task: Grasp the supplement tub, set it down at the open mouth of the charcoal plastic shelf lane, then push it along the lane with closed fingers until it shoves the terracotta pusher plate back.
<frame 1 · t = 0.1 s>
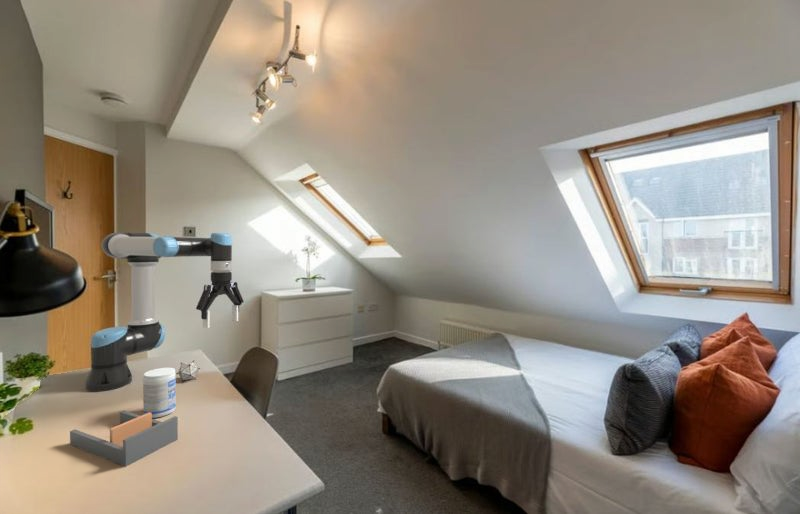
hand: (221, 324, 141), 28 cm above the table, fingers open, 13 cm apart
lane: (123, 441, 106), on the table
game die: (188, 380, 154), on the table
supplement tub: (159, 413, 124), on the table
pusher: (135, 433, 103), point 4 cm above the table, slide at 0.0 cm
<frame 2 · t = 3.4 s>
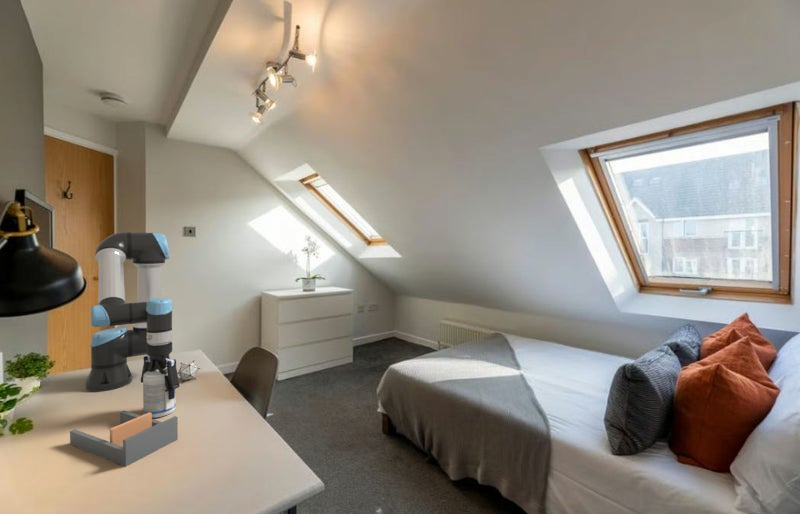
hand: (159, 405, 124), 3 cm above the table, fingers closed on supplement tub, 10 cm apart
supplement tub: (159, 413, 124), on the table, touching gripper
everything else where it was.
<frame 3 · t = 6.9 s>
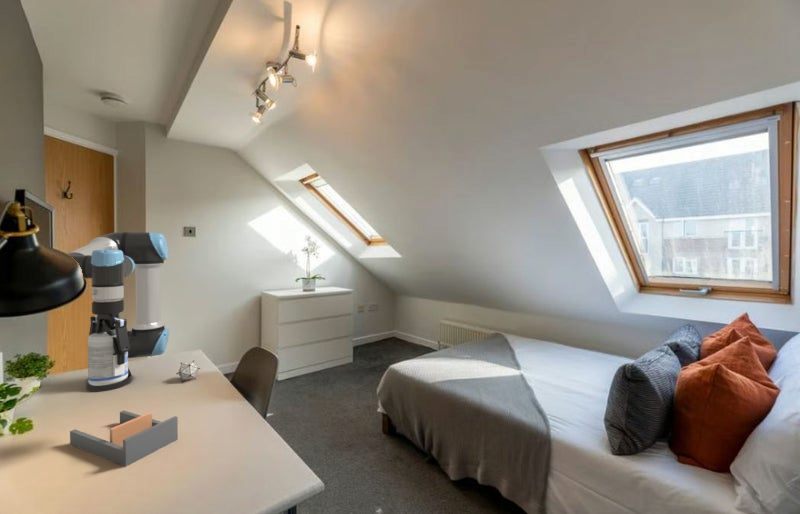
hand: (108, 372, 108), 20 cm above the table, fingers closed on supplement tub, 9 cm apart
supplement tub: (108, 381, 108), point 17 cm above the table, touching gripper
everything else where it was.
when the fingers open (4 cm above the table, at t = 10.2 s): supplement tub drops 1 cm, on the table.
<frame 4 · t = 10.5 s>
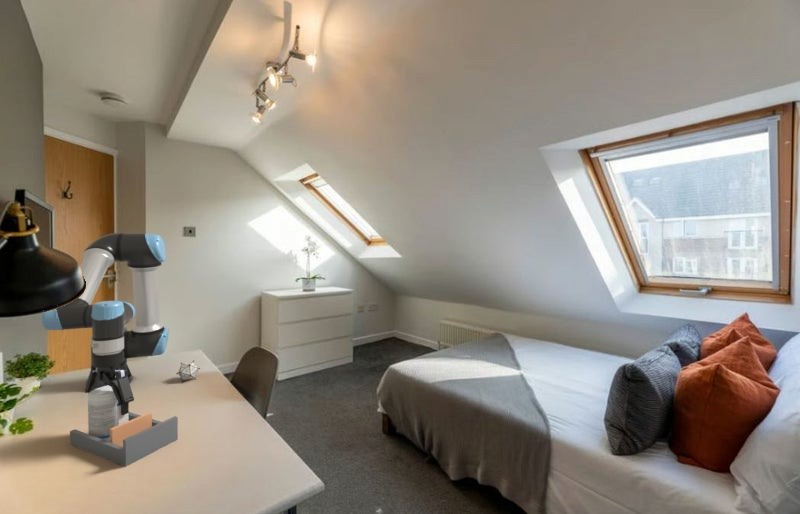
hand: (109, 420, 108), 5 cm above the table, fingers open, 13 cm apart
supplement tub: (109, 436, 108), on the table
everything else where it was.
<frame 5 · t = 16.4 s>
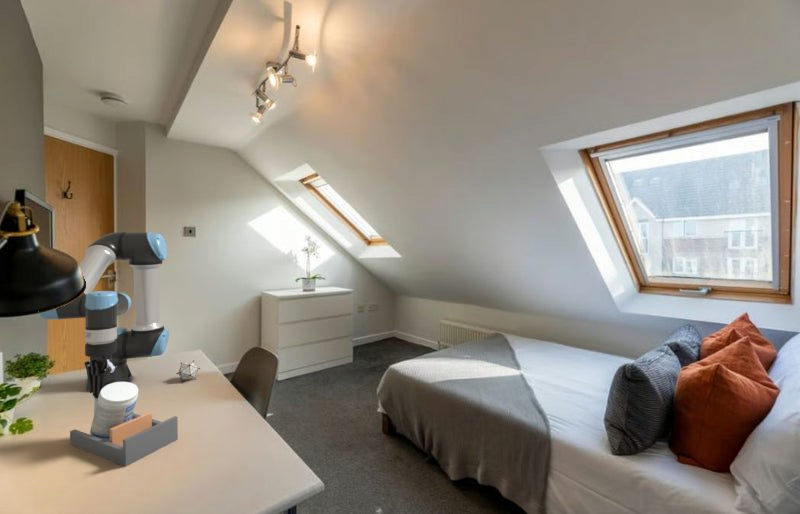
hand: (100, 416, 109), 6 cm above the table, fingers closed
supplement tub: (109, 431, 108), point 2 cm above the table, touching gripper, hand
everything else where it was.
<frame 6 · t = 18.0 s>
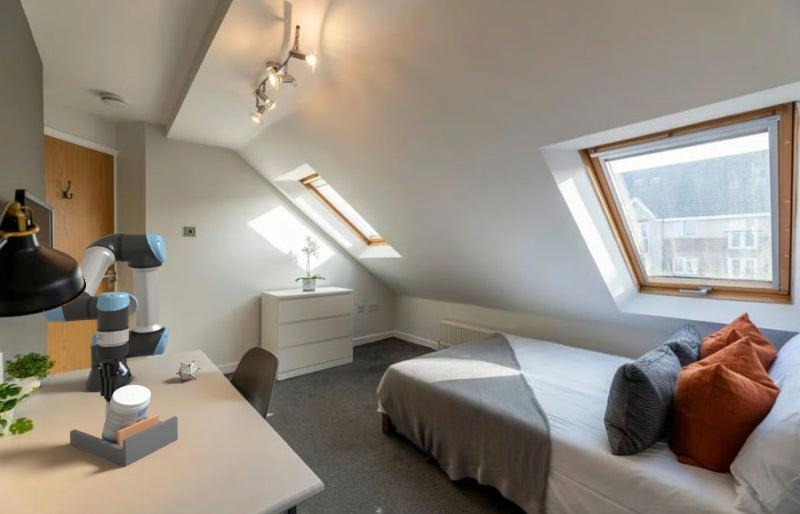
hand: (111, 420, 107), 6 cm above the table, fingers closed
supplement tub: (120, 436, 106), point 2 cm above the table, touching gripper, hand, pusher
pusher: (142, 435, 102), point 4 cm above the table, slide at 3.3 cm, touching supplement tub
everything else where it was.
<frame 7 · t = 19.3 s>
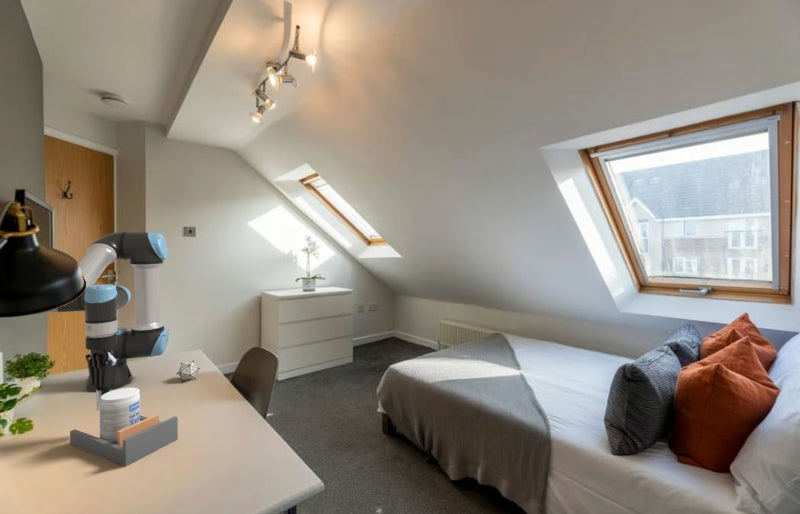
hand: (103, 408, 110), 8 cm above the table, fingers closed
supplement tub: (120, 441, 106), on the table
pusher: (142, 435, 102), point 4 cm above the table, slide at 3.3 cm
everything else where it was.
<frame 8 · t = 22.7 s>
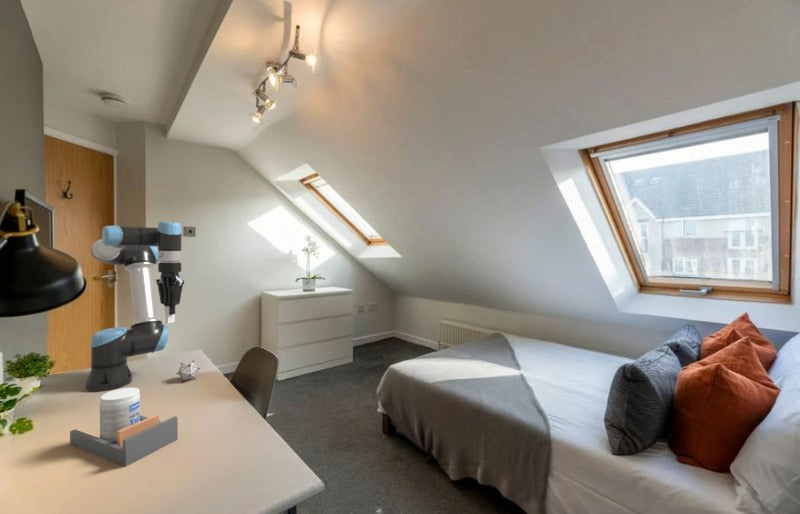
hand: (170, 322, 136), 29 cm above the table, fingers closed
nothing on the table moved.
at the end: supplement tub inside the target area on the lane (4.0 cm from its centre), point 0.0 cm above the lane's base; pusher slide at 3.3 cm; supplement tub tilted 0° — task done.
